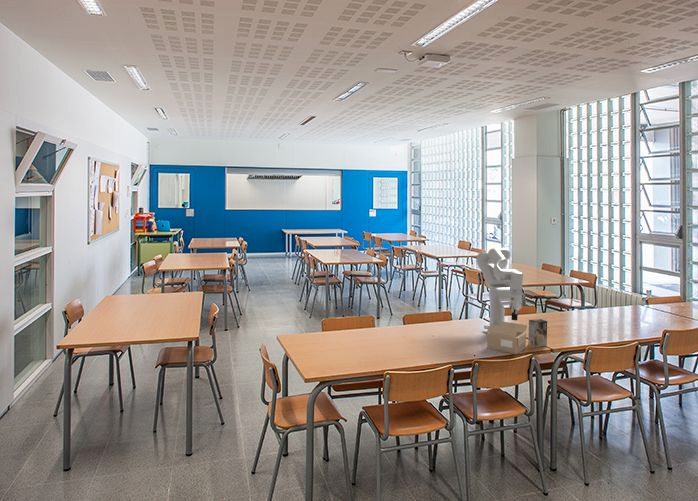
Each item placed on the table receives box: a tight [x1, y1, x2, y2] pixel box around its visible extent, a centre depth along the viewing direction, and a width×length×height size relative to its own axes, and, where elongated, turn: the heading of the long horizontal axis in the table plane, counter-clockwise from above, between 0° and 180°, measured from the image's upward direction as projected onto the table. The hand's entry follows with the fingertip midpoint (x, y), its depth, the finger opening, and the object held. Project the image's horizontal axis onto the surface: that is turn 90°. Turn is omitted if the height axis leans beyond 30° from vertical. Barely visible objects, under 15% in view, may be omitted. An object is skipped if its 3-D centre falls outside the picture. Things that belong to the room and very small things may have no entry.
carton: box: [486, 331, 527, 355], centre depth 304 cm, size 19×16×10 cm
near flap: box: [489, 324, 517, 337], centre depth 298 cm, size 16×5×1 cm
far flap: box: [500, 321, 528, 332], centre depth 312 cm, size 16×5×1 cm
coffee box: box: [527, 318, 548, 348], centre depth 310 cm, size 9×6×16 cm
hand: (514, 319), depth 314 cm, fingers closed
